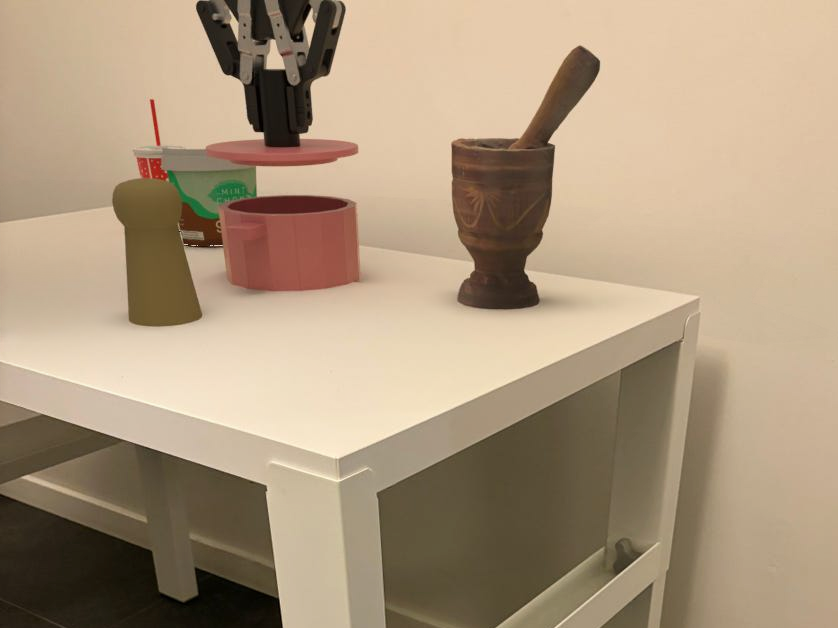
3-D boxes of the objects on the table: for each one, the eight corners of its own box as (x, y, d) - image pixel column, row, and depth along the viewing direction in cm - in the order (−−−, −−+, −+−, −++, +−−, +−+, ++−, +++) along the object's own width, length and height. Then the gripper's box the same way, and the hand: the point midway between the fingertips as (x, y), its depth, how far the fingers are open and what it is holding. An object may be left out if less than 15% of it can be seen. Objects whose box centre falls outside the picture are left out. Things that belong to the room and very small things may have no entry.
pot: (186, 296, 90) (174, 214, 87) (284, 260, 105) (277, 188, 101) (308, 308, 87) (300, 223, 83) (392, 269, 101) (389, 195, 97)
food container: (208, 253, 108) (195, 152, 102) (173, 247, 111) (158, 148, 106) (291, 238, 116) (282, 143, 111) (255, 232, 119) (245, 140, 114)
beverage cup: (206, 226, 123) (189, 98, 115) (179, 234, 118) (159, 101, 110) (163, 223, 124) (144, 97, 117) (135, 231, 119) (113, 100, 112)
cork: (132, 336, 79) (105, 186, 73) (125, 318, 83) (99, 176, 78) (209, 329, 80) (189, 182, 75) (198, 312, 85) (178, 173, 79)
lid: (176, 165, 87) (162, 70, 83) (257, 150, 97) (249, 66, 94) (314, 172, 83) (307, 73, 79) (383, 155, 94) (379, 68, 90)
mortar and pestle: (551, 289, 94) (562, 44, 83) (596, 309, 87) (613, 45, 76) (438, 299, 90) (434, 44, 79) (475, 321, 83) (476, 45, 72)
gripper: (158, -108, 79) (191, 133, 88) (314, -115, 75) (331, 139, 84) (210, -98, 85) (236, 127, 94) (358, -104, 81) (369, 131, 90)
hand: (281, 131), depth 89 cm, fingers closed on lid, 3 cm apart
